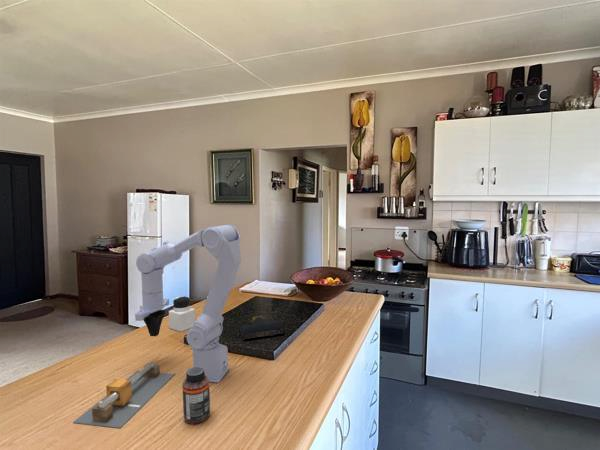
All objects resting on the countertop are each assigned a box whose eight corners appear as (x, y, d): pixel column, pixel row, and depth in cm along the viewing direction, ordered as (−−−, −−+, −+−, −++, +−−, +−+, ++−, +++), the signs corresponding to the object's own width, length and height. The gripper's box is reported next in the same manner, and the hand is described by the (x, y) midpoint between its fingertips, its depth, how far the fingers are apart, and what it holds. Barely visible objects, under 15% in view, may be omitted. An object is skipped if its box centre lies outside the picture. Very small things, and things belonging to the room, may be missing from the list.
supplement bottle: (187, 409, 81) (185, 364, 80) (212, 407, 81) (210, 363, 80) (180, 425, 75) (178, 377, 74) (207, 424, 75) (206, 376, 75)
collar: (131, 398, 84) (130, 380, 83) (123, 405, 81) (122, 387, 80) (115, 396, 84) (115, 379, 84) (107, 403, 81) (106, 385, 81)
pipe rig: (175, 374, 97) (174, 360, 96) (120, 428, 74) (119, 410, 74) (137, 371, 99) (136, 357, 98) (73, 422, 76) (72, 405, 76)
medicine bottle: (195, 326, 133) (194, 296, 132) (180, 332, 127) (179, 301, 126) (184, 322, 137) (183, 294, 136) (168, 328, 131) (167, 298, 130)
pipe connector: (238, 317, 129) (275, 312, 134) (238, 330, 129) (275, 325, 135) (243, 328, 118) (284, 323, 123) (243, 343, 119) (284, 336, 124)
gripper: (154, 284, 108) (155, 325, 109) (124, 298, 94) (126, 344, 95) (174, 285, 107) (175, 326, 108) (147, 299, 93) (149, 346, 94)
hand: (154, 335), depth 102 cm, fingers closed
